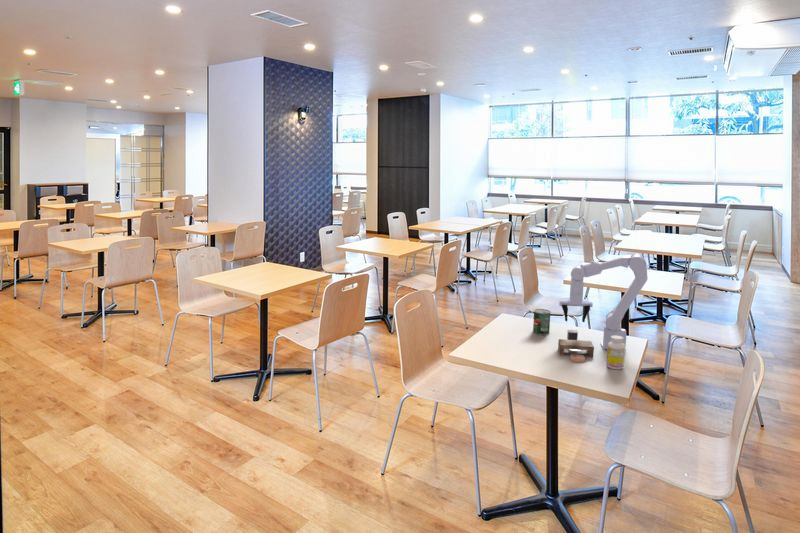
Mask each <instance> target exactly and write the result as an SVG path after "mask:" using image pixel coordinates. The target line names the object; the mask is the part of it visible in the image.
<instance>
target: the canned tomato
mask: <svg viewBox="0 0 800 533" xmlns="http://www.w3.org/2000/svg"><path fill="white" fill-rule="evenodd" d="M551 313H552V312H551V310H549V309H544V308H537V309H534V310H533V324H532V325H533V326H532V332H533V334H535V335H538V334H539V335H540V336H547V335H549V334H550V328H551Z"/></svg>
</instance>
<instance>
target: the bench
mask: <svg viewBox="0 0 800 533" xmlns="http://www.w3.org/2000/svg"><path fill="white" fill-rule="evenodd" d="M557 346H558V347H557V348H558V349H557V350H558V353H559V355H560V356H564V355H565V354H564V353H565V350H568V349H576V350H581V351H586V352H587V355H588V356H589V358H594V354H595V353H594V352H595V346H594V344H593V341H592V340H580V339H577V340H567V339H565V338H564V339H563V338H562V339H561V338H560V339H558V343H557Z"/></svg>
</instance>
